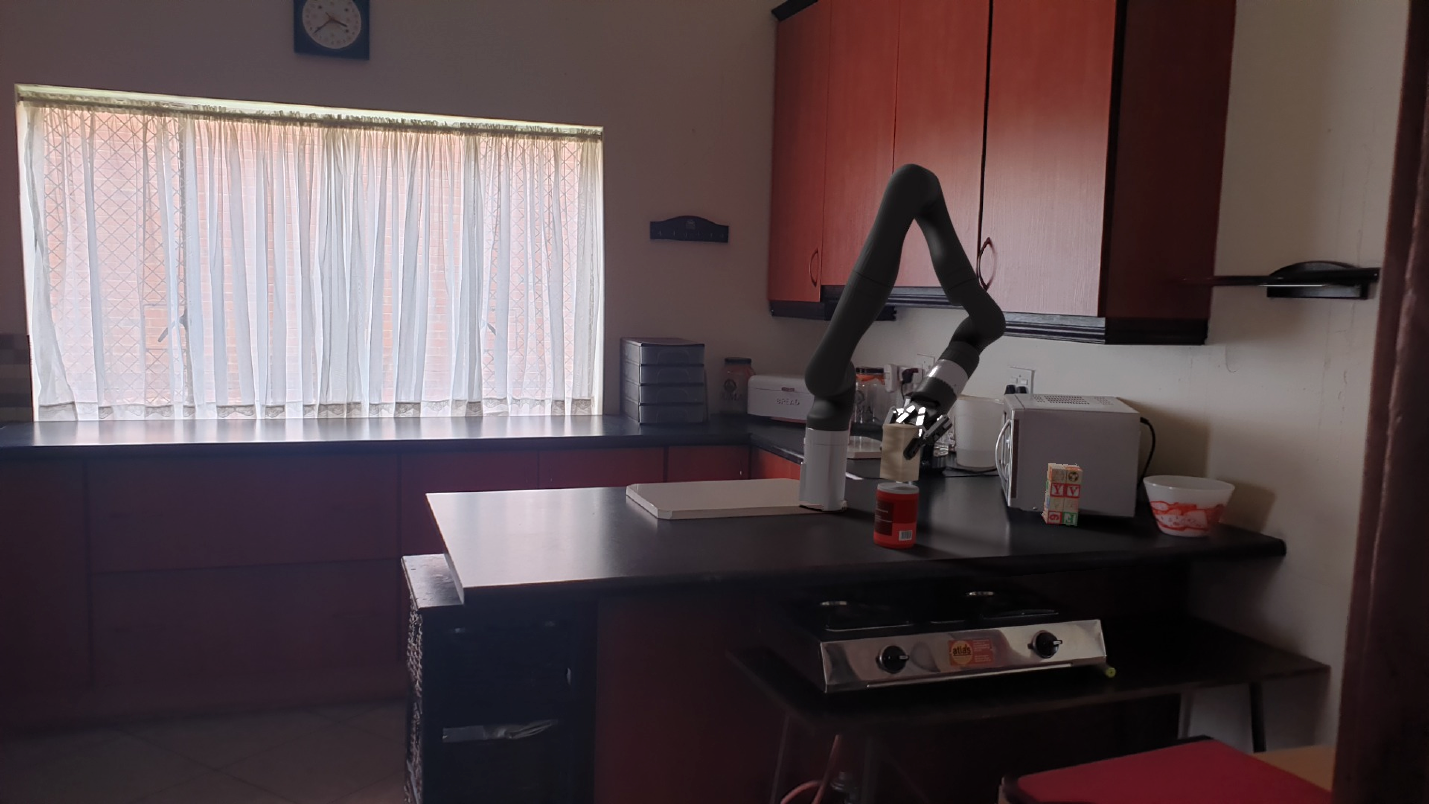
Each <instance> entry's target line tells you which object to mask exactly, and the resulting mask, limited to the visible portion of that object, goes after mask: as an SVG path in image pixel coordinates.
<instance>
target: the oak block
mask: <svg viewBox="0 0 1429 804" xmlns="http://www.w3.org/2000/svg"><path fill="white" fill-rule="evenodd" d="M883 424H884V423H883ZM917 430H918V427H916V426H914V425H909V424H904V423H903V424H884V427H883V429H882V441H881V443H882V452H881V454H880V455H881V457H880V470H879V478H881V479H886V480H889V481H893V482H897V483H905V482H913V481H918V480H919V473H920V471H919V470H920V460H921V448H922V447H921V448H920V449H919V451H918V452H917V454H916V455H915V457H913V458H912V459H911V460H906V458H905V457H904V455H903V451H904V450H905V448H906V447H907V446H908V444H909V443H910V441H911V440H912V438H914V439H915V437H914V436H915V433H916V432H917Z"/></svg>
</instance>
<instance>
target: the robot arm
mask: <svg viewBox="0 0 1429 804" xmlns="http://www.w3.org/2000/svg"><path fill="white" fill-rule="evenodd" d="M940 182H941V181H940V179H939V177H938V175H936V174H935V173H934V172H933V171H932V170H929V169H928V168H926V167H924V166H922V165H919V164H917V163H906V164H903V165H901V166H899V167H897V169H895V171H893V173H892V174H891V176H890V177H889V179H888V181H887V183H886V187H885V189H884V192H883V195H882V198H881V202H880V204H879V207H878V210H877V214H876V216H875V219H874V221H873V224H872V227H871V229H870V231H869V233H868V235H867V238H865V242H864V244H863V245H862V248H861V251H860V253H859V255H858V258H857V259H856V261H855V263H854V266H853V267H852V270H851V271H850V274H849V276H848V279H847V281H846V284H845V285H844V287H843V288H844V289H843V291H842V293H841V296H840V297H839V300H838V301H837V305H836V307H835V310H834V312H833V314H832V317H831V319H830V322H829V324H828V327H827V328H826V331H825V332H824V334H823V336H822V338H821V340H820V342H819V344H818V345H817V347H816V348H815V350H814V351H813V354H812V356H811V358H810V359H809V361H808V362H807V365H806V367H805V371H804V376H803V377H804V384H805V387H806V389H807V391H808V392H809V393H810V394H811V395H812V396H813V402H812V406H811V408H810V410H809V412H808V413H807V415H806V419H805V420H806V423H805V435H804V437H805V438H804V454H803V461H802V462H801V463H800V473H799V488H798V500H799V501H806V502H808V503H810V504H819V505H822V506H824V507H823V508H824V510H823V511H833V512H835V511H839V510H840V511H841V510H843V509H842V506H843V507H844V505H843V504H845V503H844V502H845V489H846V477H847V476H846V475H847V460H848V446H849V445H848V443H849V430H850V423H851V419H852V417H853V413H854V406H855V398H856V387H857V371H856V367H855V364H854V363H853V362H852V358H853V355H854V353H855V350H856V348H857V346H858V344H859V343H860V341H861V340H862V338H863V337H864V335H865V334H866V333H867V331H868V330H869V328H870V327H871V326H872V325H873V324H874V322H875V321H876V319H878V317H879V315H880V314H881V313H882V311H883V309H884V308H885V306H886V304H887V302H888V300H889V297H890V296H891V293H892V292H893V289H894V286H895V285H896V281H897V279H898V275H899V271H900V267H901V266H900V265H901V260H902V253H903V252H902V251H903V247H904V242H905V240H906V236H907V234H908V231H909V229H910V228H911V226H912V224H913V222H914V221H915V222H916V224H917V225H918V227H919V228H920V230H921V233H922V234H923V236H924V239H925V241H926V243H927V244H926V245H927V248H928V251H929V255H930V260H931V264H932V267H933V270H934V273H935V275H936V278H937V281H938V282H939V284H940V287H941V289H942V291H943V293H944V295H945V297H946V299H947V302H948V303H949V304H950V305H951V306H953V307H956V308H958V307H962V308H963V309H964V311H965V312H966V313H967V315H968V316H966V318H964V319H962V321H961V322H960V323H959V325H958V326H957V327H956V329H955V330H954V332H953V334H952V336H951V337H950V340H949V343H948V344H947V347H946V348H945V349H944V350H943V351H942V353H941V355H940V356H939V357H938V359H937V360H936V361H935V363H934V364H933V365H932V366H931V367H930V368H929V369H928V371H927V372H926V373H925V374H924V377H922V379H921V380H920V381H919V383H918V385H917V386H916V388H915V389H914V391H913V392H912V393H911V397H910V401H909V403H907V405H905V406H904V407H903V408H897V407H896V406H895V405H893V406H891V407H890V408H889V410H888V413H887V414H886V417H885V420H884V422H883V424H882V427H881V428H882V430H883V427H884V424H909V425H914V426H916V427H918V430H917V432H916V433H915V436H914V437H915V439H914V438H912V440H911V441H910V443H909V444H908V446H907V447H906V448H905V450H904V451H903V455H904V457H905V458H906V460H911V459H912V458H913V457H915V455H916V454H917V452H918V451H919V449H920V448H923V447H925V446H926V445H928V446H934V445H935V444H936V443H938V441H939V440H940V439H941V438H942V437H943V436H944V435H945V434H946V433H947V432H948V431H949V430H950V429H951V428H952V427H953V423H952V420H951V419H950V416H949V415H948V413H949V412H950V410H952V407H953V406H954V405H955V403H956V402H957V400H958V398H959V397H960V396H961V394H962V392H963V391H964V390H965V387H966V385H967V383H968V382H969V380H970V378H971V377H972V376H973V374H974V373H975V371H976V370H977V368H978V366H979V364H980V359H981V358H980V356H981V354H982V353H983V351H985V349H986V348H987V347H989V346H990V345H991V344H993V343H994V342H996V341H998V340H1000V338H1002V337H1003V336H1004V335H1005V332H1006V329H1007V320H1006V317H1005V314H1004V312H1003V310H1002V309H1001V306H999V304H998V303H997V302H996V301H995V299H993V297H992V296H991V294H990V293H989V292H988V291H987V290H986V289H985V288H984V287H983V286H982V284H981V283H980V280H979V278H978V276H977V274H976V272H975V270H974V268H973V265H972V263H971V261H970V260H969V257H968V256H967V253H966V250H965V248H964V247H963V245H962V243H961V241H960V239H959V237H958V234H957V231H956V229H955V227H954V224H953V222H952V219H951V216H950V213H949V210H948V207H947V204H946V203H947V202H946V200H945V196H944V192H943V188H942V186H941V183H940ZM920 450H921V449H920ZM879 451H880V453H882V442H881V443H880V444H879Z"/></svg>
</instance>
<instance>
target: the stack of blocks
mask: <svg viewBox="0 0 1429 804" xmlns="http://www.w3.org/2000/svg"><path fill="white" fill-rule="evenodd" d="M1077 465H1078V464H1076V465H1068V464H1063V465H1062V464H1056V463H1048V471H1047V481H1046V491H1045V492H1046V493H1045V502H1044V511H1043V513H1042V514H1041V517H1043V520H1044V521H1045V523H1046V524H1049V525H1050V524H1051V525H1059V524H1066V525H1065V526H1070V525H1074V526H1073V527H1077V526H1078V517H1079V504H1080V498H1081V491H1082V490H1081V487H1082V479H1083V473H1084V472H1083V470H1082V469H1081V467H1080V466H1079V465H1078V466H1077Z"/></svg>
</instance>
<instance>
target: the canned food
mask: <svg viewBox="0 0 1429 804" xmlns="http://www.w3.org/2000/svg"><path fill="white" fill-rule="evenodd" d="M919 496H920V488H919V486H917V485H914V484H910V483H905V482H881V483H878V484H877V488H876V500H875V510H874V511H875V512H874V513H875V514H874V528H873V542H874V544H876V545H877V546H879V547H883V548H887V549H888V548H889V549H896V550H900V549H901V550H902V549H905V548H906V549H910V548H913V547H914V545H915V542H916V533H917V521H918V512H919V511H918V510H919V509H918V508H919V499H920V497H919ZM906 549H905V550H906Z"/></svg>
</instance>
